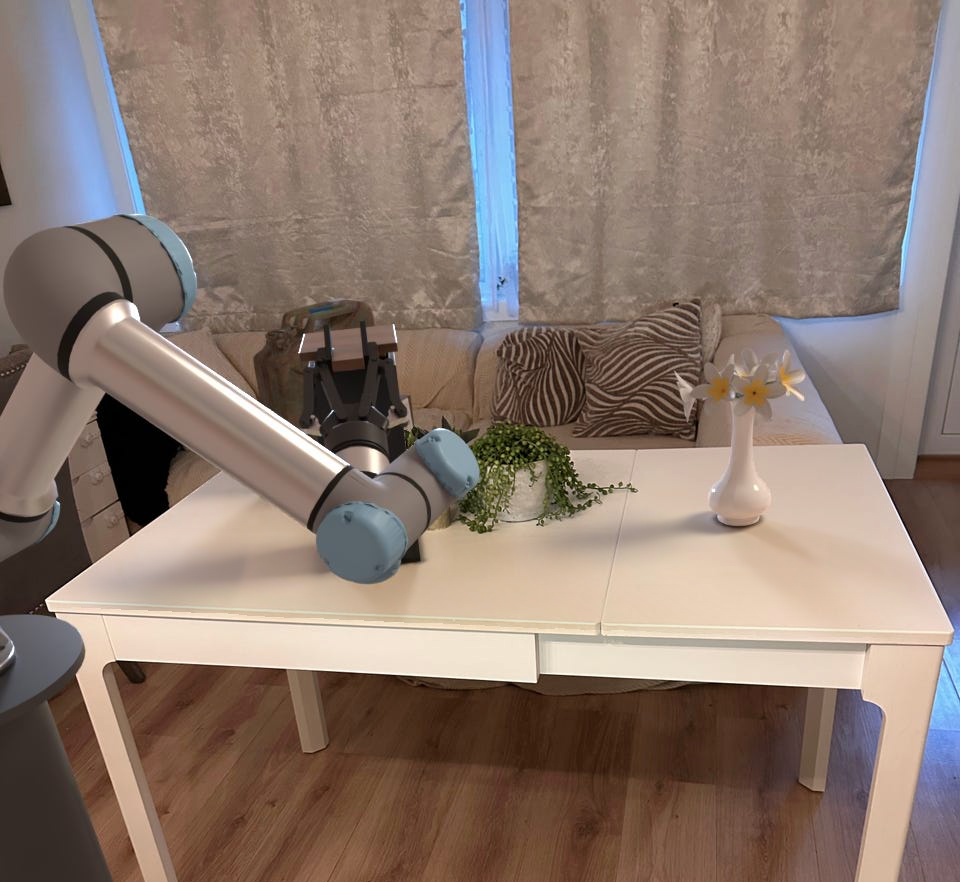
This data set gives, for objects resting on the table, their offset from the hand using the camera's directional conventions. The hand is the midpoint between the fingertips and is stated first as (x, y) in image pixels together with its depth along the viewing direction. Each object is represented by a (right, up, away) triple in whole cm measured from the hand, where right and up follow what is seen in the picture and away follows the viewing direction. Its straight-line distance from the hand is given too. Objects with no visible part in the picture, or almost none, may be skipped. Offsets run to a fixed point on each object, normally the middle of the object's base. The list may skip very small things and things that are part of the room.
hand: (345, 331), depth 124 cm
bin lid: (0, -2, +4) cm, 5 cm away
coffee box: (+2, -13, +47) cm, 49 cm away
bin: (+2, -27, +22) cm, 35 cm away
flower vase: (+57, -22, +20) cm, 64 cm away
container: (-10, -8, +58) cm, 60 cm away
